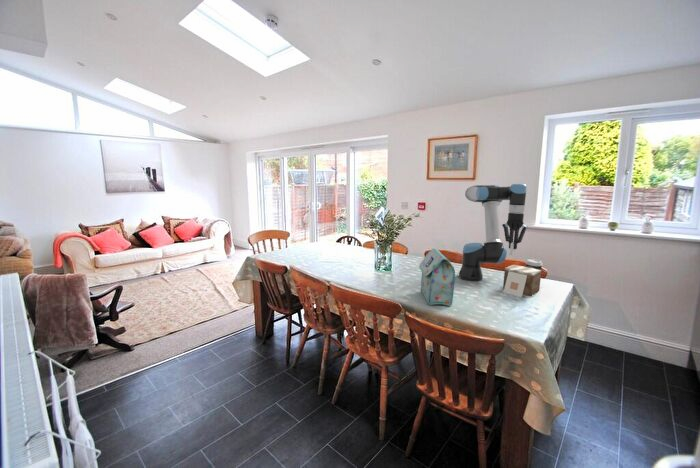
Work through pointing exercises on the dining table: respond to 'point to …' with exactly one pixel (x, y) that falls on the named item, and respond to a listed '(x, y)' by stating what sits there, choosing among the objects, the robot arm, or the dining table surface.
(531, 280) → the cardboard box
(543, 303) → the dining table surface
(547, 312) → the dining table surface
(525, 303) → the dining table surface
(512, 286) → the white flat panel
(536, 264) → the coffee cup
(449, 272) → the lunch bag
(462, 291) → the dining table surface
